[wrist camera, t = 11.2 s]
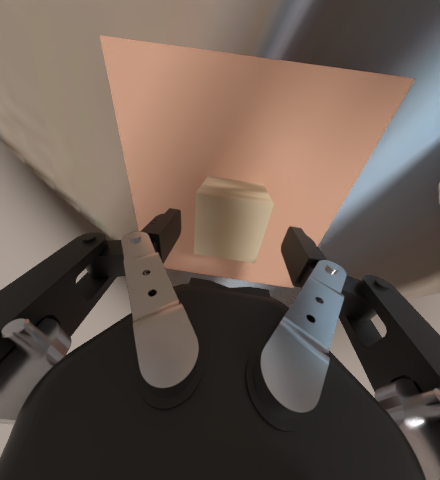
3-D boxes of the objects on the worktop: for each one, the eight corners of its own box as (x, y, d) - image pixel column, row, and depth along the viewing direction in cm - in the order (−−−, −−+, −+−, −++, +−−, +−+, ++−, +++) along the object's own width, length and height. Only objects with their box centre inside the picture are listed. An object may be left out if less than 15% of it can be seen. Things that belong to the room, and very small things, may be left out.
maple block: (263, 183, 14) (274, 204, 10) (250, 231, 17) (255, 263, 13) (208, 176, 14) (195, 192, 10) (204, 224, 17) (193, 253, 13)
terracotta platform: (370, 92, 13) (415, 78, 10) (285, 267, 24) (293, 288, 21) (134, 60, 13) (99, 35, 10) (158, 247, 25) (145, 265, 21)
